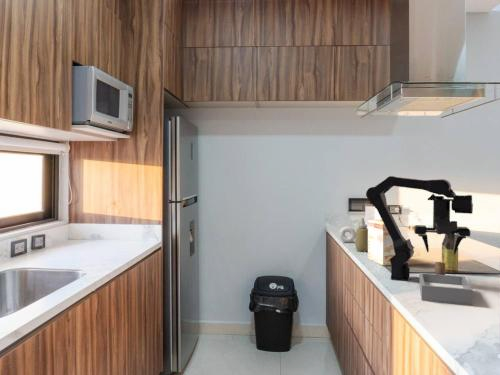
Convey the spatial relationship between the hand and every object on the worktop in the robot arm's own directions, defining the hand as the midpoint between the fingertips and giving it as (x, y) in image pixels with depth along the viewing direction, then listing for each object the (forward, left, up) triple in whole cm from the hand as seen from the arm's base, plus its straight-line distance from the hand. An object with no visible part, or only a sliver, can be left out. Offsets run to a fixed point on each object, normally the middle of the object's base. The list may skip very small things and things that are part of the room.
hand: (440, 252), depth 147 cm
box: (0, -14, -12) cm, 19 cm away
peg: (0, 0, -12) cm, 12 cm away
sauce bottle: (+5, +20, -12) cm, 24 cm away
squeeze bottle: (-34, +54, -12) cm, 65 cm away
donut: (-45, +77, -12) cm, 90 cm away
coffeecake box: (-23, +31, -12) cm, 40 cm away
